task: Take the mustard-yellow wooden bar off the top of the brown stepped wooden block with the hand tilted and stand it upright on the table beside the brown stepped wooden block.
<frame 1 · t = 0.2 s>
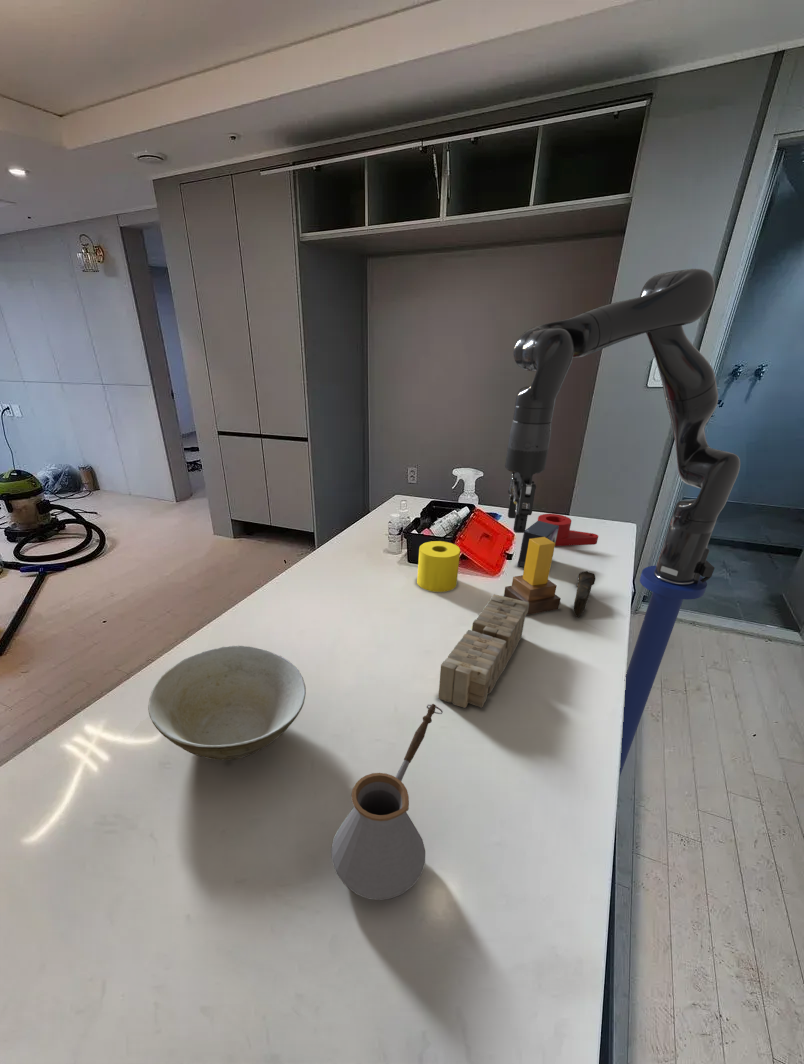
hand: (515, 524, 106), 22 cm above the table, tool pointing down, fingers open, 8 cm apart
coffee pot: (395, 836, 67), on the table
yellow toilet paper roll: (436, 583, 130), on the table
bowl: (236, 736, 83), on the table
brown stepped wooden block: (530, 603, 121), on the table
small box: (534, 564, 140), on the table
block tower: (484, 664, 100), on the table
hand tool: (583, 602, 122), on the table
bar: (534, 580, 118), point 6 cm above the table, touching brown stepped wooden block
lever: (565, 541, 154), on the table
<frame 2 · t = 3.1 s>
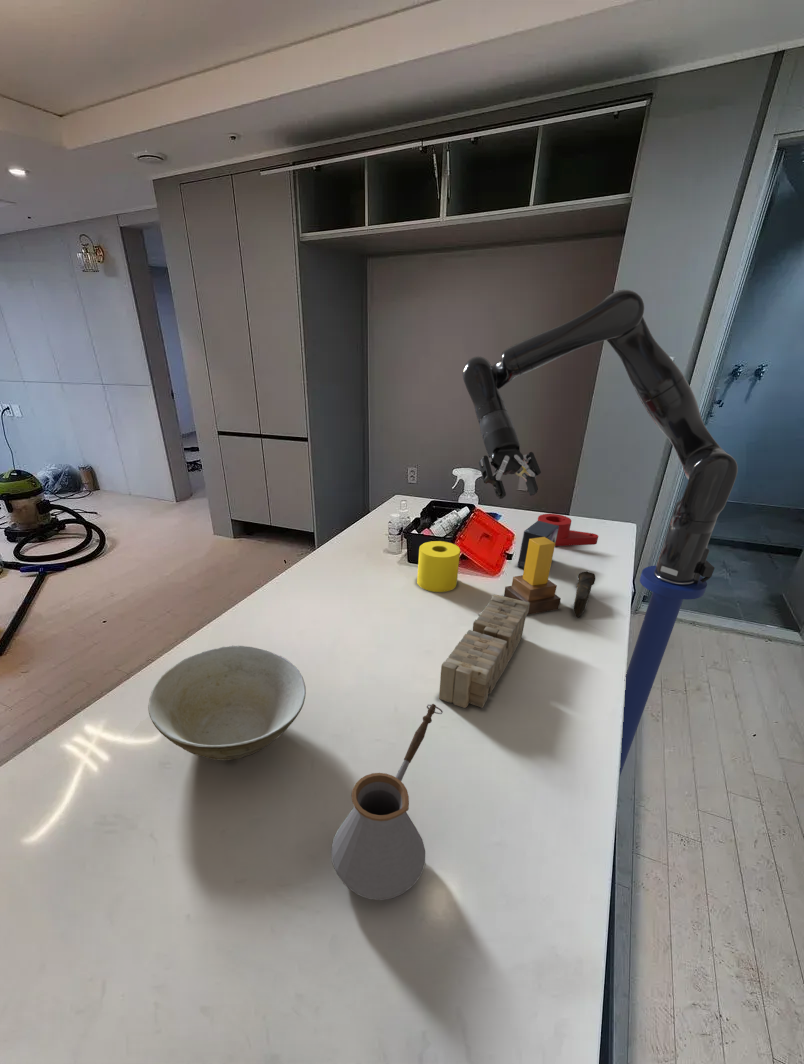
hand: (518, 495, 119), 23 cm above the table, tool tilted 45°, fingers open, 8 cm apart
nothing on the table moved.
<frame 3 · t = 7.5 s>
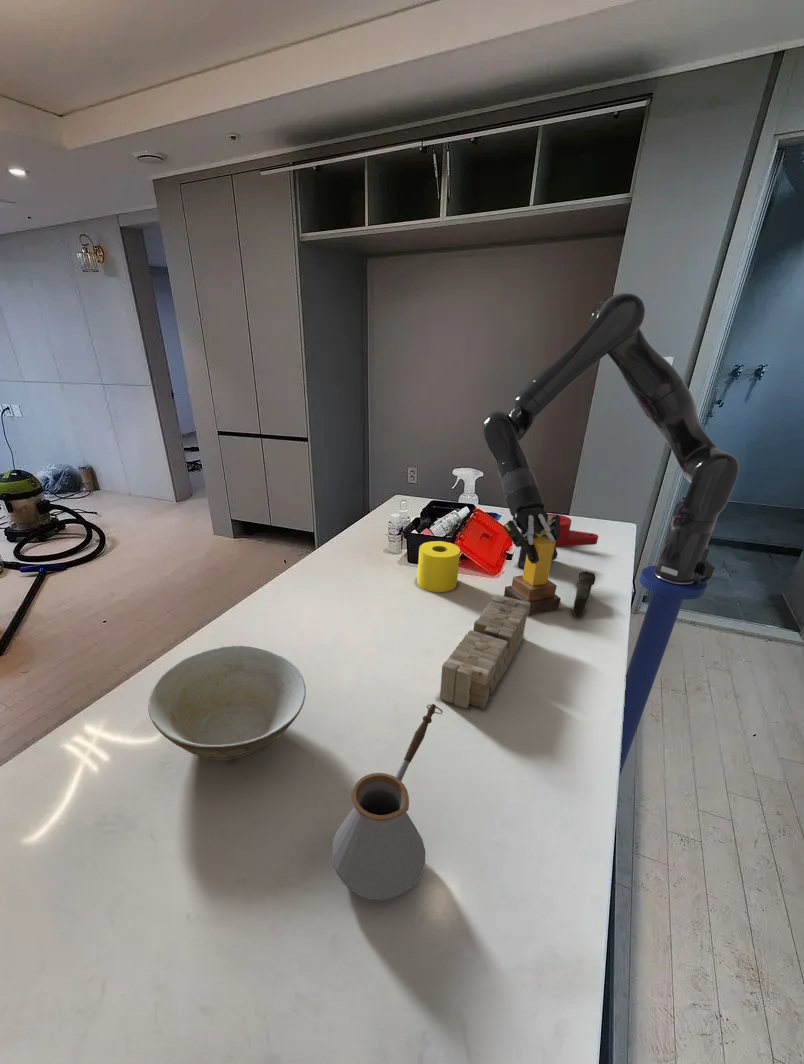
hand: (544, 560, 113), 12 cm above the table, tool tilted 45°, fingers closed on bar, 4 cm apart
bar: (534, 580, 118), point 6 cm above the table, touching gripper, brown stepped wooden block
everything else where it was.
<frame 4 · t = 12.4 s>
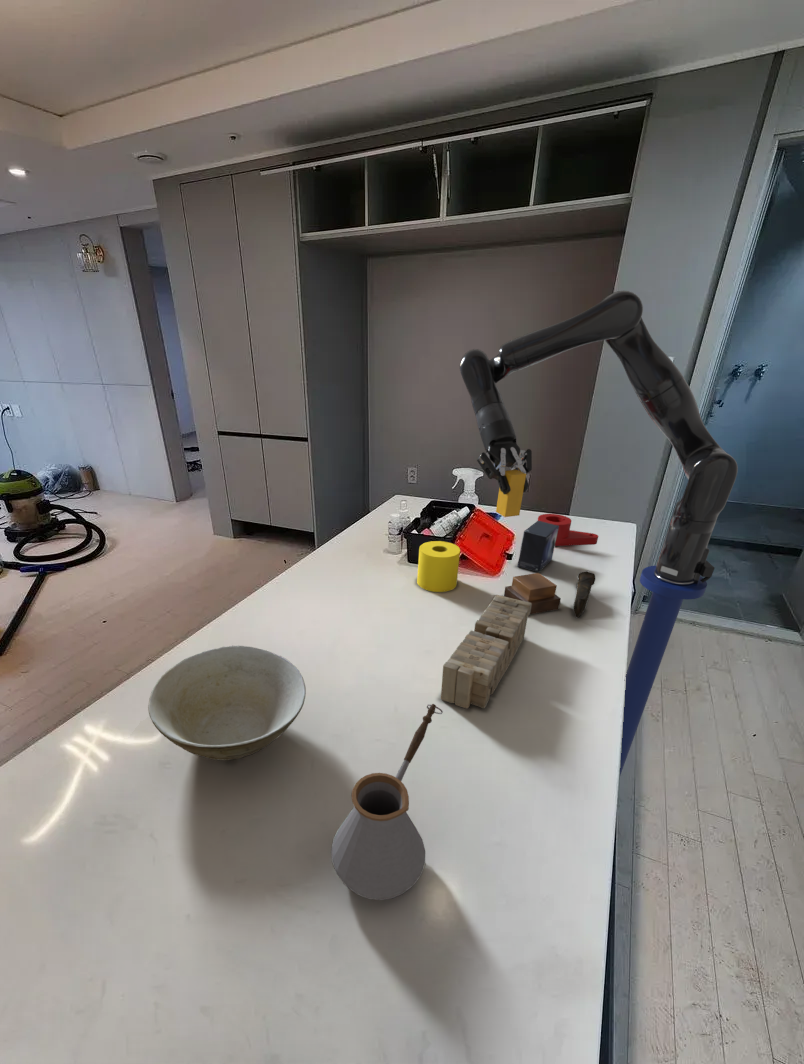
hand: (516, 491, 118), 24 cm above the table, tool tilted 45°, fingers closed on bar, 4 cm apart
bar: (507, 513, 122), point 18 cm above the table, touching gripper
everything else where it was.
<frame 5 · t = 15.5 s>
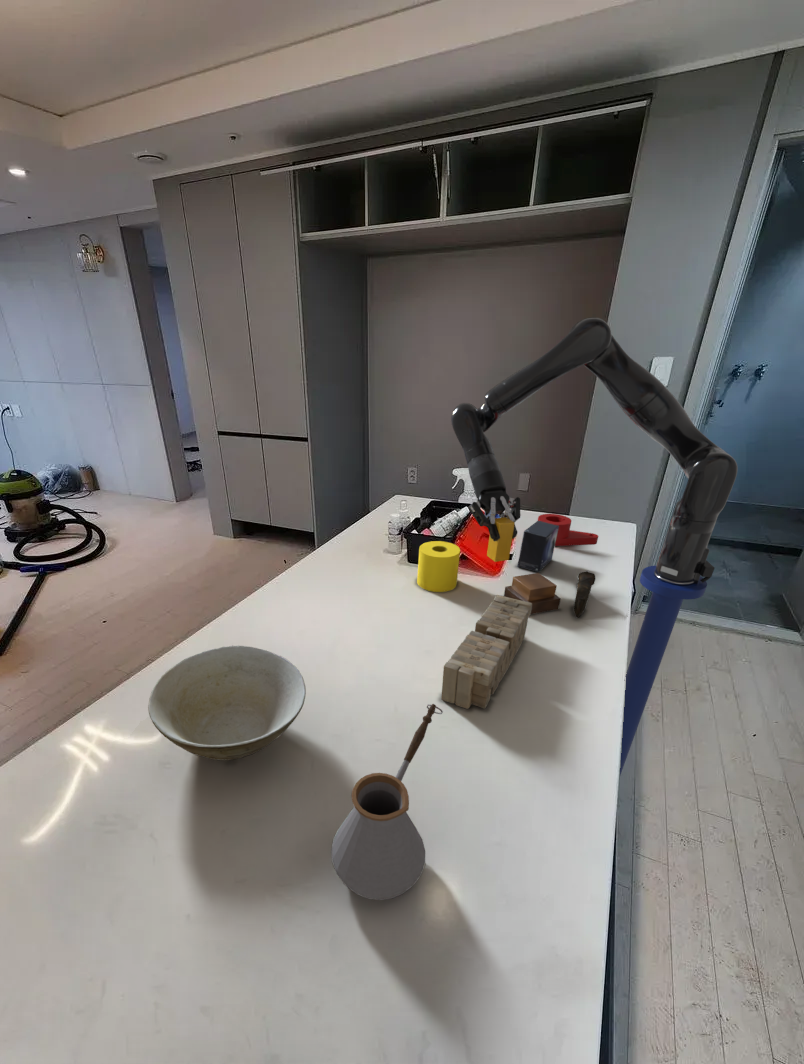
hand: (505, 538, 125), 12 cm above the table, tool tilted 45°, fingers closed on bar, 4 cm apart
bar: (497, 557, 129), point 6 cm above the table, touching gripper
everything else where it was.
when the fingers open (6 cm above the table, at t = 17.6 s): bar stays where it is, on the table.
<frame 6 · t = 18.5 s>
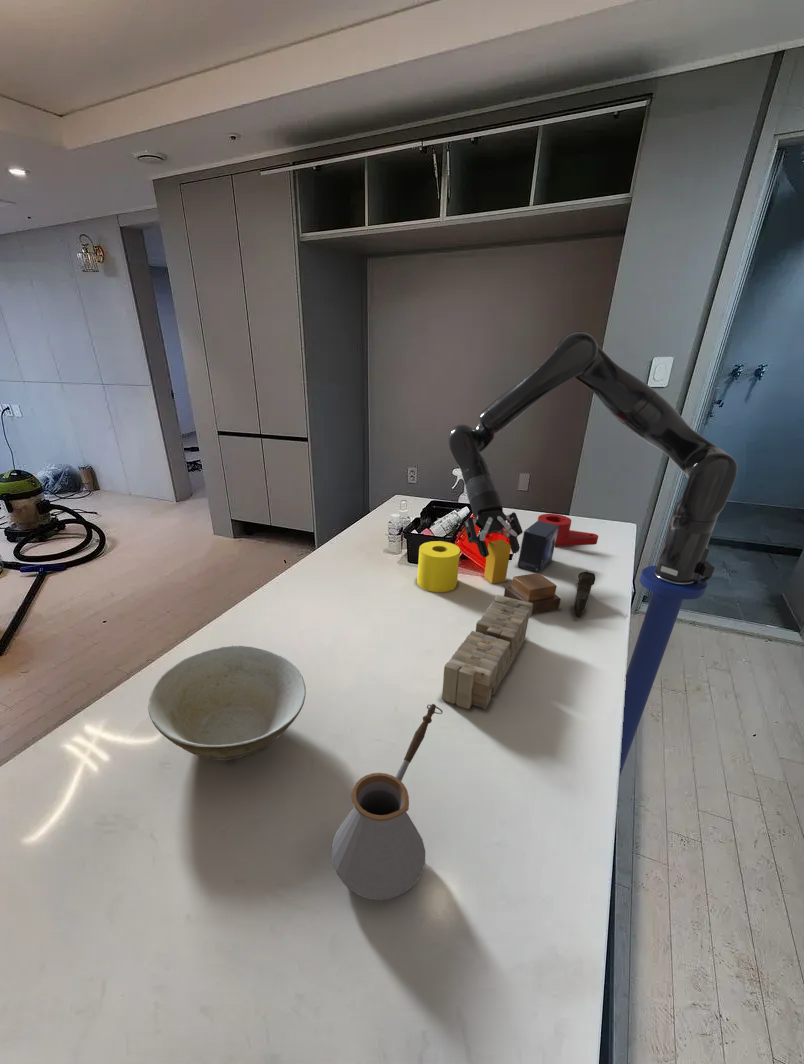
hand: (501, 554, 127), 8 cm above the table, tool tilted 45°, fingers open, 8 cm apart
bar: (494, 579, 132), on the table
everything else where it was.
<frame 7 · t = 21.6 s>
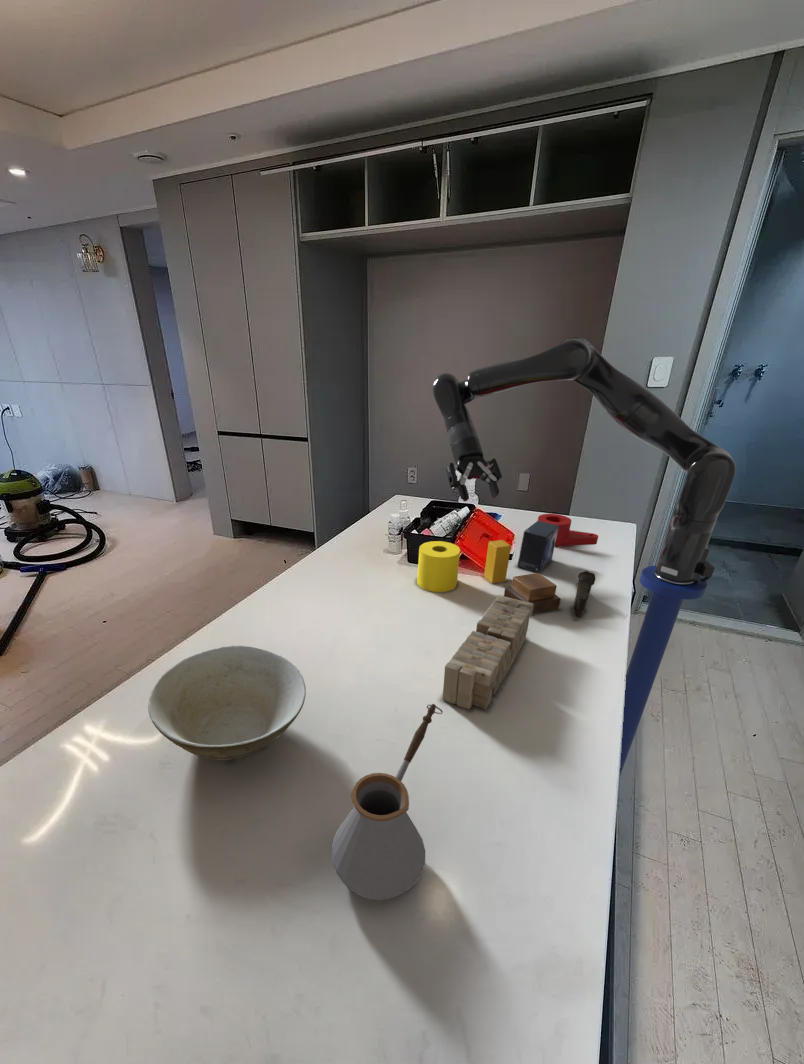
hand: (481, 498, 133), 18 cm above the table, tool tilted 45°, fingers open, 8 cm apart
nothing on the table moved.
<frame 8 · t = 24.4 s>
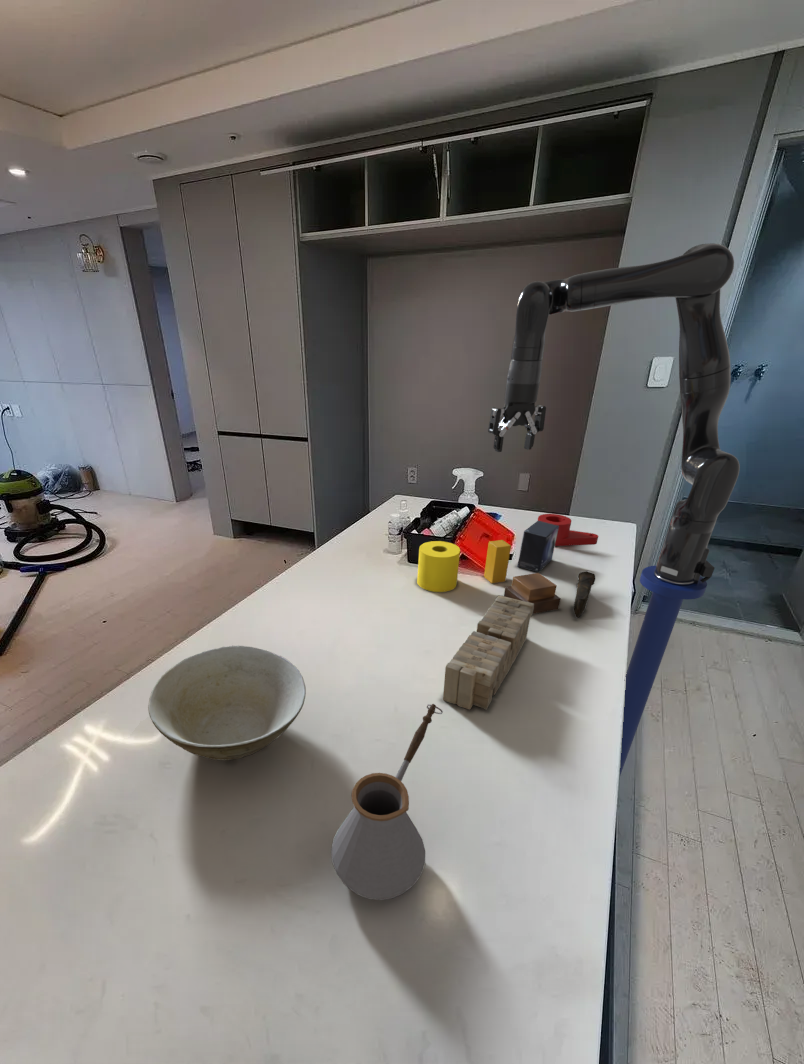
hand: (513, 450, 128), 30 cm above the table, tool pointing down, fingers open, 8 cm apart
nothing on the table moved.
at the end: bar inside the target area (0.1 cm from its centre), on the table; bar tilted 0°; bar touching table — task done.
